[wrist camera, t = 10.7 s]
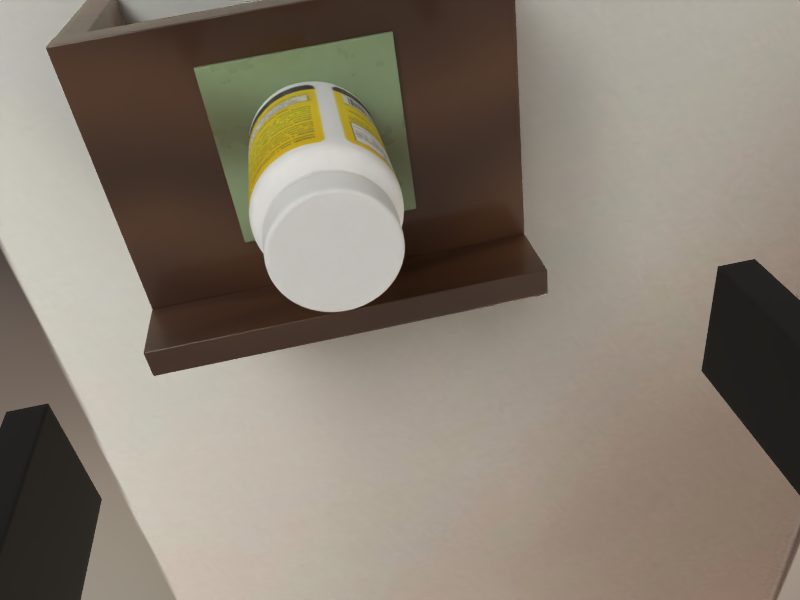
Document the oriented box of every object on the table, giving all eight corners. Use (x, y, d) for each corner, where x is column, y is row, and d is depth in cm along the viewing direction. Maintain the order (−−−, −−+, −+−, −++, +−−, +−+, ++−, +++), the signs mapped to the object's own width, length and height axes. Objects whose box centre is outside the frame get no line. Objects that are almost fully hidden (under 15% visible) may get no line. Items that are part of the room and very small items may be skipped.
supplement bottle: (242, 191, 28) (238, 317, 21) (255, 68, 25) (255, 166, 18) (365, 205, 29) (400, 329, 22) (388, 89, 27) (435, 188, 20)
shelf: (85, -1, 30) (21, 74, 22) (464, -67, 31) (542, -21, 23) (175, 247, 37) (153, 376, 28) (483, 186, 38) (547, 294, 29)
